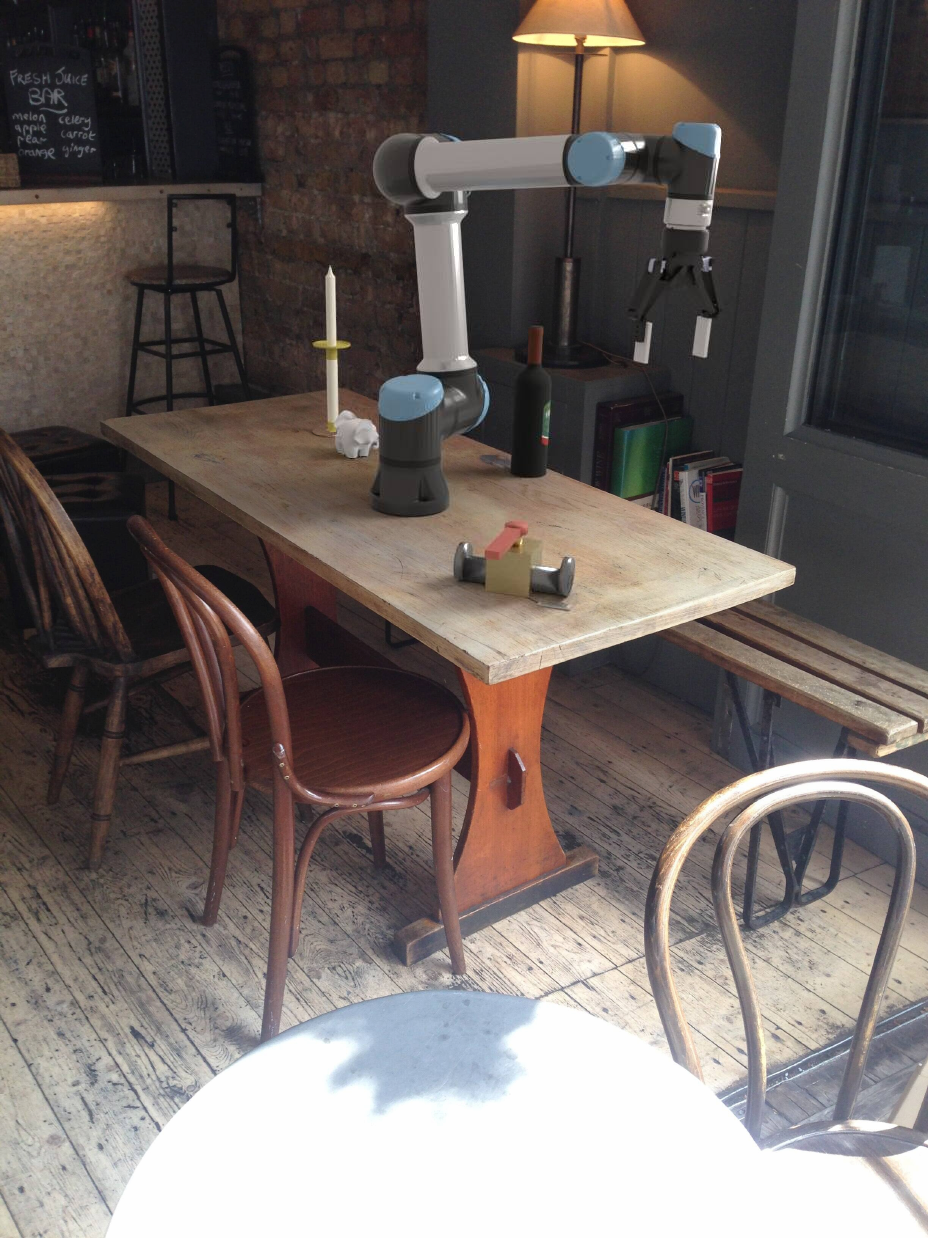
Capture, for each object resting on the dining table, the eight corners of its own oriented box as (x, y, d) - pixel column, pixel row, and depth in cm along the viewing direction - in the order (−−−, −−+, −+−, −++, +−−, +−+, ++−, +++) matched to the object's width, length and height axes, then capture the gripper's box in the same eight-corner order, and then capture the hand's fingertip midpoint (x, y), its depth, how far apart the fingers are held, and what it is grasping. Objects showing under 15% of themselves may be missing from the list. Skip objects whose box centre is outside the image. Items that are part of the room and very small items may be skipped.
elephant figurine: (393, 456, 238) (393, 415, 235) (344, 463, 232) (343, 422, 229) (371, 445, 246) (371, 406, 242) (323, 452, 239) (322, 412, 236)
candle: (352, 438, 251) (350, 267, 236) (308, 436, 251) (303, 266, 236) (356, 427, 260) (355, 262, 245) (314, 426, 260) (310, 261, 245)
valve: (446, 590, 169) (448, 537, 166) (466, 570, 177) (467, 519, 174) (569, 610, 164) (573, 555, 160) (583, 588, 172) (587, 536, 168)
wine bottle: (508, 467, 233) (515, 323, 221) (543, 467, 234) (552, 323, 221) (512, 477, 226) (519, 329, 214) (548, 477, 227) (558, 330, 215)
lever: (508, 527, 170) (508, 519, 170) (530, 530, 169) (530, 522, 169) (479, 557, 158) (480, 549, 157) (503, 560, 157) (504, 552, 156)
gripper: (644, 229, 168) (629, 368, 177) (757, 228, 181) (738, 357, 190) (612, 225, 174) (600, 359, 182) (724, 223, 187) (707, 349, 195)
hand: (670, 359), depth 186 cm, fingers open, 13 cm apart
